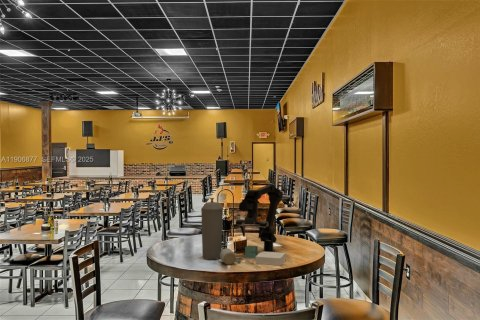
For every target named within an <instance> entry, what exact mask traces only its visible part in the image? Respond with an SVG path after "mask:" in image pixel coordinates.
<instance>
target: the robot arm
mask: <svg viewBox="0 0 480 320" xmlns="http://www.w3.org/2000/svg"><path fill="white" fill-rule="evenodd" d="M264 195H267V196H268V200H269V206H268V209H267V210H268V211H267V214H266V220H265V221H264V220H261V221H258V214H259V213H258V209H259V204H261V203H260V201H259V200H260V199H261V198H262V196H264ZM283 197H284V194H283V192H282V191H281V189H279V188H277V187H276V186H275V184H266V185H265V186H262V187H259V188H257V189H249V190H247V192H246V194H245V196H244V198H243V199H242V200H241V201H240V203H239V205H238V209H239V210H240V212H247V214H246V217H244V219H236V220H235V225H236V226H237V227H239V228H240V230H241V233H242V234H241V235H242V237H243V238H245V237H246V225H251V226H259V227H258V228H259V230H258V239H260V242H263V250H262V251H264V252H276V251H275V249H274V243H276V242H277V237H276V235H275V229H274V221H275V218H276V213H277V209H278V205H279V204H280V203H281V202H282V199H283Z"/></svg>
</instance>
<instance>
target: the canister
mask: <svg viewBox="0 0 480 320" xmlns="http://www.w3.org/2000/svg"><path fill="white" fill-rule="evenodd" d="M209 199H210V202H209V201H207V202H205V204H204V205H203V206H202V207H201V210H200V211H201V212H200V213H201V243H202V244H201V245H202V246H201V249H202V258H203V259H205V260H212V261H213V260H219V259H220V253H221V251H222V250H223V249H222V248H223V247H222V245H223V242H222V240H223V210H224V208H223V206H222V205H221V204H219V202H216V201H214V199H215V198H214V197H210V198H209Z"/></svg>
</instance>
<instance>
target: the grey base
mask: <svg viewBox="0 0 480 320" xmlns="http://www.w3.org/2000/svg"><path fill="white" fill-rule="evenodd" d="M286 259H287V253H286V252H278V251H277V252H276V251H274V252H264V251H263V250H262V251H260V252H258V255H257V256H255V258H254V260H255V262H254V263H255V265H267V266H277V267H278V266H279V267H281V266H282V265H283V264H284V263H285V261H287V260H286Z"/></svg>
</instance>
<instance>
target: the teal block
mask: <svg viewBox="0 0 480 320" xmlns="http://www.w3.org/2000/svg"><path fill="white" fill-rule="evenodd" d="M258 248H259V246H258V245H247V246H245V247H244V258H247V259H255V256H257V255H258V254H259V252H258V250H259V249H258Z"/></svg>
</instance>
